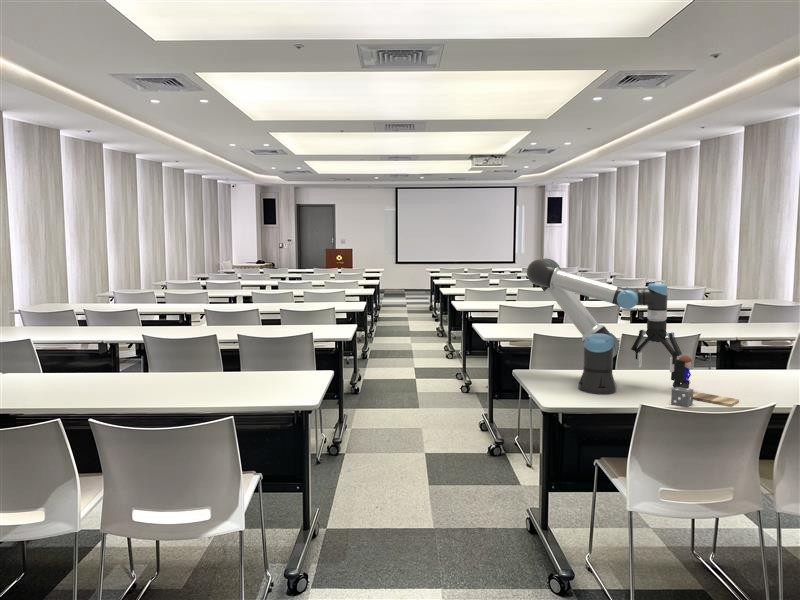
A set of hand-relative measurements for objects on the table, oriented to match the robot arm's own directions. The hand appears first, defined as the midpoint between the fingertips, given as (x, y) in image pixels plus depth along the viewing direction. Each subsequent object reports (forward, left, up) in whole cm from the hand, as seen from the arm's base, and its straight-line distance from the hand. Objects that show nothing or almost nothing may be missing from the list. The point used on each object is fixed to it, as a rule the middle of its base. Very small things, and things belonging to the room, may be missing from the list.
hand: (655, 369), depth 248 cm
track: (+21, 0, -9) cm, 22 cm away
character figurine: (+8, +7, -9) cm, 14 cm away
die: (+17, -15, -9) cm, 24 cm away
